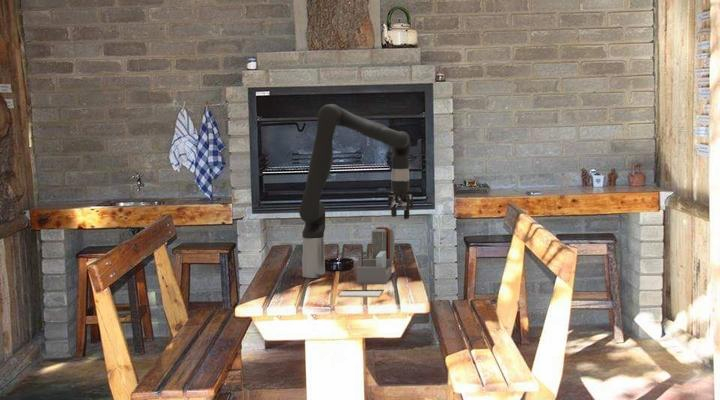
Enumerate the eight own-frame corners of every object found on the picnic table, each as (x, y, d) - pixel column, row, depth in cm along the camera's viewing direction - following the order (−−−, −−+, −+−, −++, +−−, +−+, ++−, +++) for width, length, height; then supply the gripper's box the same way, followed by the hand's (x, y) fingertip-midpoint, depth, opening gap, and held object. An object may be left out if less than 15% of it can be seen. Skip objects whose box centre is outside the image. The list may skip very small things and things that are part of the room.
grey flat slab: (376, 285, 367) (375, 256, 366) (381, 279, 380) (380, 251, 379) (382, 285, 367) (381, 256, 366) (386, 279, 380) (385, 251, 378)
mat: (338, 296, 348) (338, 295, 348) (345, 288, 362) (344, 287, 362) (379, 297, 346) (379, 295, 346) (384, 289, 359) (384, 287, 359)
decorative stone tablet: (384, 229, 386) (396, 225, 415) (370, 228, 387) (382, 225, 417) (384, 273, 386) (396, 266, 416) (370, 273, 388) (382, 266, 417)
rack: (356, 286, 366) (356, 267, 365) (363, 277, 384) (363, 259, 383) (386, 286, 364) (385, 267, 363) (391, 277, 382) (391, 259, 381)
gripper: (382, 178, 378) (382, 216, 380) (403, 181, 367) (403, 220, 369) (397, 177, 383) (397, 215, 385) (418, 180, 371) (417, 218, 373)
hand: (400, 217), depth 377 cm, fingers open, 8 cm apart
